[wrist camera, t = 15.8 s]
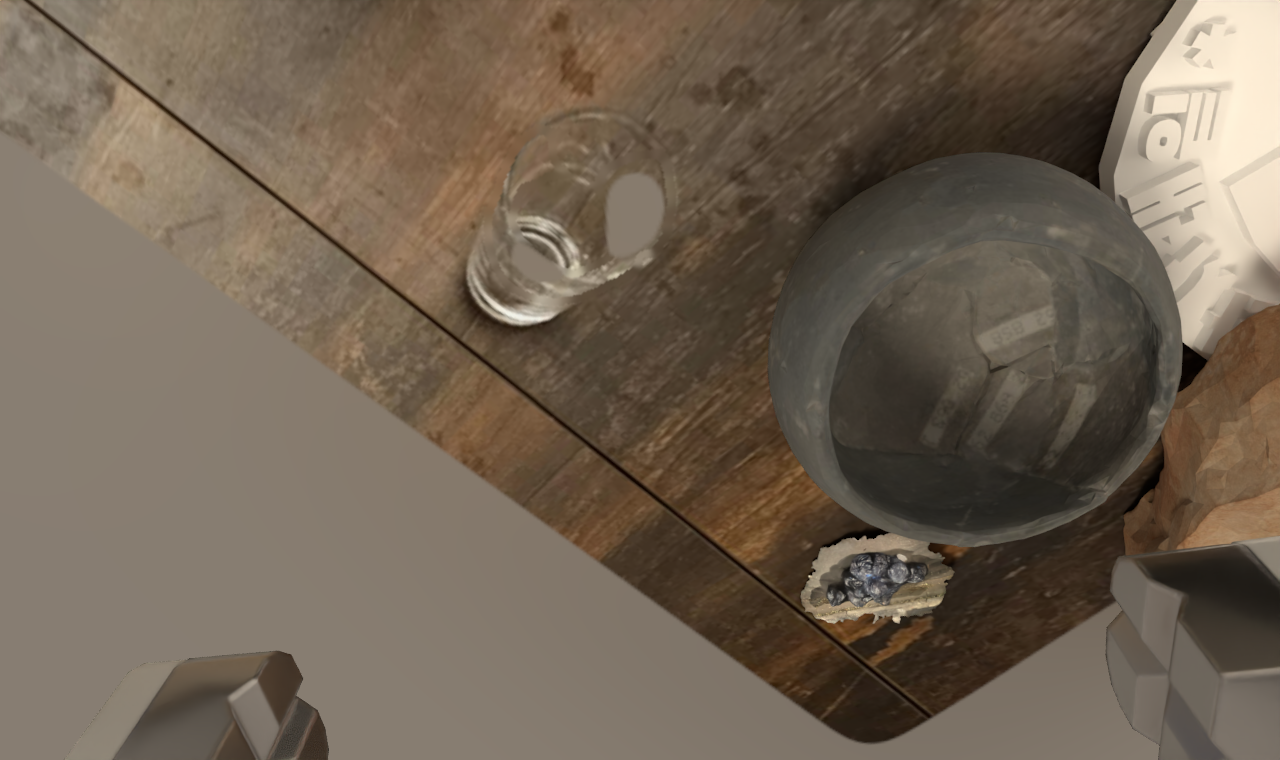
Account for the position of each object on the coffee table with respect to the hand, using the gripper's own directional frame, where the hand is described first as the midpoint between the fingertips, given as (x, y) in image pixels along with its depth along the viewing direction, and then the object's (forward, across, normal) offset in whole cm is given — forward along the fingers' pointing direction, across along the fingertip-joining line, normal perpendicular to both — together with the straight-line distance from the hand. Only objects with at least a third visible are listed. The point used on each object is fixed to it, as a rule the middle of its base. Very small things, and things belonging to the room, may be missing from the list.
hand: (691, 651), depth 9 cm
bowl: (+31, -10, +10) cm, 34 cm away
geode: (+31, -7, +26) cm, 41 cm away
